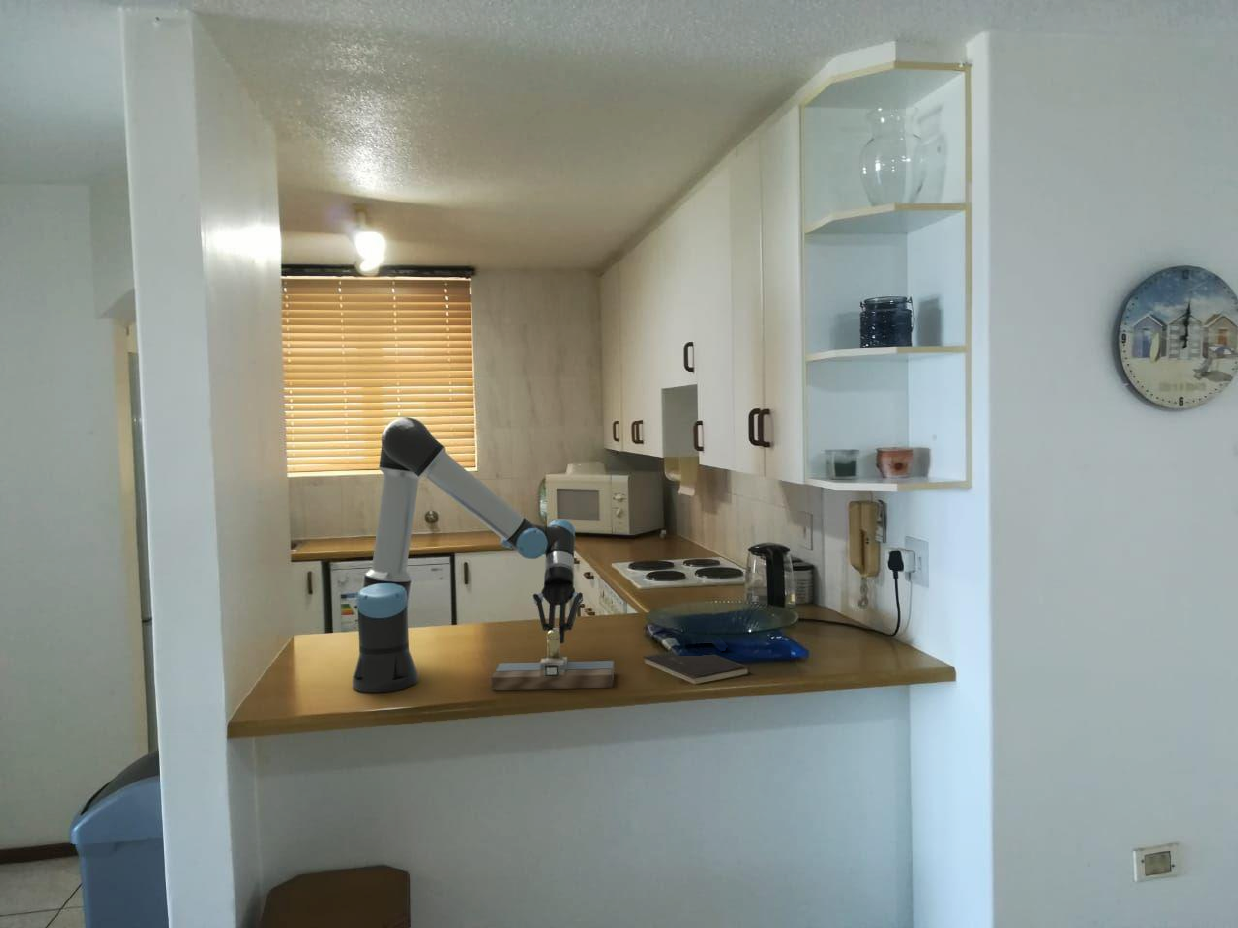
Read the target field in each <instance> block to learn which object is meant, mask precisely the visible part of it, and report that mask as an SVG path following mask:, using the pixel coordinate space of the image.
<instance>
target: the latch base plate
mask: <svg viewBox="0 0 1238 928" xmlns="http://www.w3.org/2000/svg"><path fill="white" fill-rule="evenodd" d="M562 658H565V670H584V669H613V681H614V678H615V661H614V660H604V661H603V660H602V661H601V660H598V661H597V660H596V661H568V657H567V656H563V657H562ZM545 659H548V657H546V658H545ZM539 670H540V662H518V663H517V662H514V663H512V662H511V663H510V662H509V663H499V665H498V666H497V668H496V669H495V671H539Z"/></svg>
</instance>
